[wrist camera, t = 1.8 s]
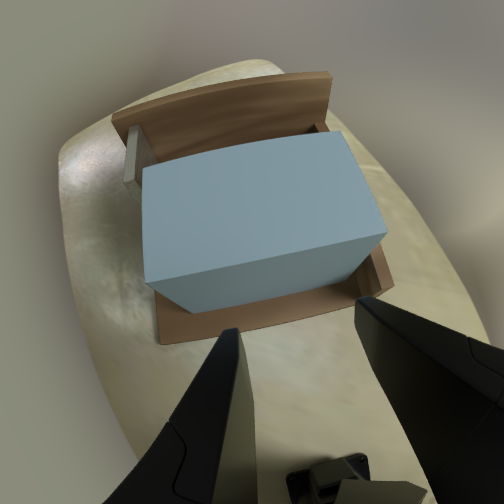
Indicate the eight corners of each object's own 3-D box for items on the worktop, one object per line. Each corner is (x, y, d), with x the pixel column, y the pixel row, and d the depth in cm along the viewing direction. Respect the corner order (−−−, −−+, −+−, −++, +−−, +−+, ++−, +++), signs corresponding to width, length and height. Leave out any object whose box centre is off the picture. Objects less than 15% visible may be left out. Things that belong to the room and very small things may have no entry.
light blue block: (344, 281, 21) (388, 231, 13) (192, 313, 21) (144, 283, 12) (319, 204, 24) (340, 130, 15) (182, 232, 23) (142, 168, 15)
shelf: (371, 300, 21) (431, 260, 12) (163, 345, 21) (96, 332, 12) (315, 148, 27) (327, 71, 18) (151, 181, 26) (112, 113, 17)
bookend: (171, 232, 23) (134, 179, 16) (150, 237, 23) (107, 187, 16) (168, 182, 25) (138, 124, 18) (149, 187, 25) (115, 132, 18)
